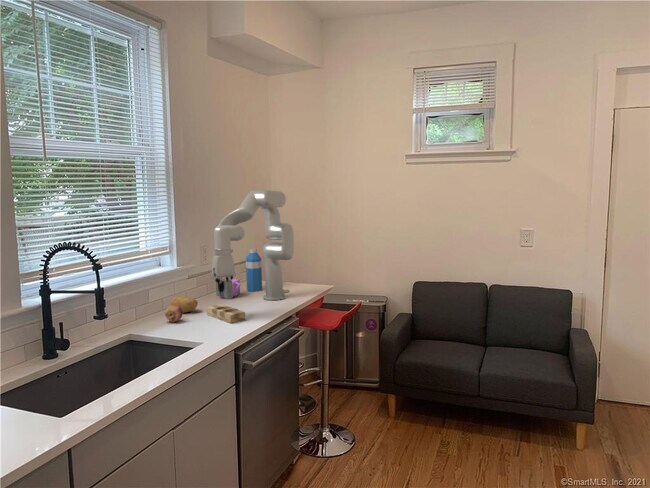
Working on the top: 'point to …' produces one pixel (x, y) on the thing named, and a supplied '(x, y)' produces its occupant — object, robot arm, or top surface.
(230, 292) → the gray pronged block
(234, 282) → the teapot
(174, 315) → the fruit
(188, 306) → the potato
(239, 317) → the wooden block with holes
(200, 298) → the top surface
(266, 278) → the robot arm
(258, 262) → the water bottle
